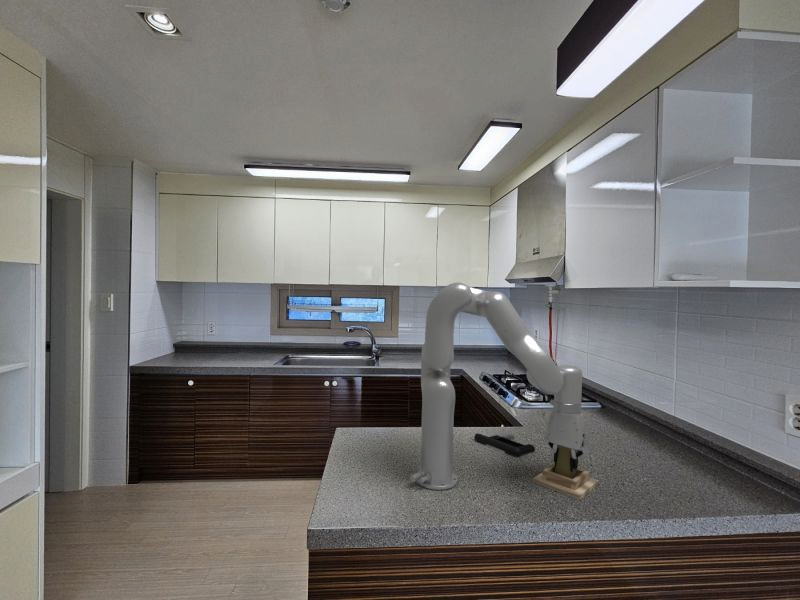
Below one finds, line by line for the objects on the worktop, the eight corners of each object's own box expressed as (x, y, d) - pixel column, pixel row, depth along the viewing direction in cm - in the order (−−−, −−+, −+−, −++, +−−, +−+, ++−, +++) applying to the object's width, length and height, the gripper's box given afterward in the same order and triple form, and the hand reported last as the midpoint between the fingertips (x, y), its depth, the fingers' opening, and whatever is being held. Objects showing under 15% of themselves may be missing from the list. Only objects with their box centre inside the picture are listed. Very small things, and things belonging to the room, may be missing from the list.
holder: (579, 500, 112) (579, 486, 112) (532, 482, 122) (532, 470, 122) (598, 484, 121) (599, 472, 121) (553, 468, 132) (554, 457, 132)
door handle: (498, 428, 164) (472, 433, 155) (542, 443, 149) (516, 450, 139) (498, 436, 164) (471, 442, 155) (542, 452, 149) (515, 460, 139)
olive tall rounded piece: (551, 474, 122) (552, 438, 121) (559, 468, 126) (561, 433, 126) (571, 481, 117) (572, 443, 117) (579, 475, 122) (580, 438, 121)
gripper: (535, 403, 125) (533, 462, 125) (591, 416, 113) (589, 481, 113) (546, 399, 130) (544, 456, 130) (601, 411, 118) (599, 473, 118)
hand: (565, 467), depth 122 cm, fingers closed on olive tall rounded piece, 4 cm apart
